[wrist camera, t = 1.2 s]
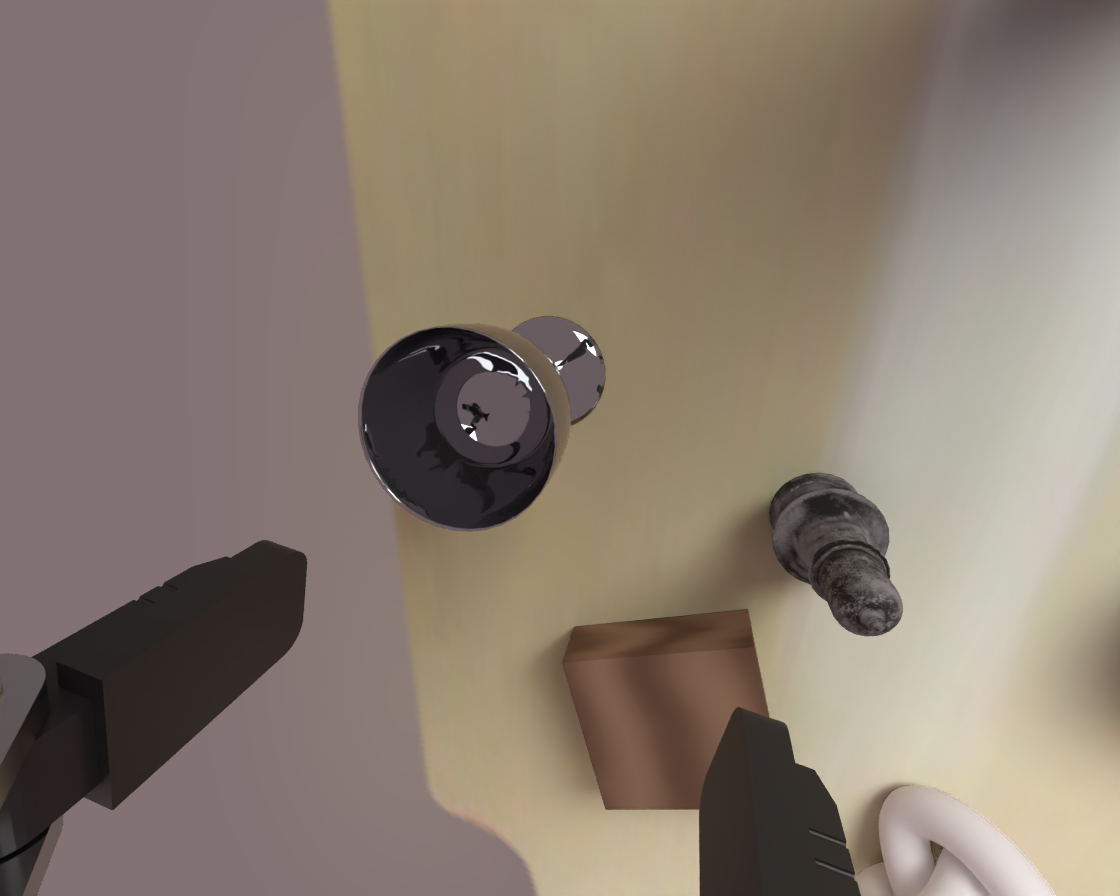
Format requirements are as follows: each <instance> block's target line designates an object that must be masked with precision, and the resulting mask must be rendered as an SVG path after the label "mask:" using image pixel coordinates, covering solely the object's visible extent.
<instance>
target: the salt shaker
mask: <svg viewBox="0 0 1120 896" xmlns="http://www.w3.org/2000/svg"><path fill="white" fill-rule="evenodd" d="M769 513H770V523H771V525H772V528H773V535H772V539H773V549H774V551H775V554H776V556H777V559H778V561H779V562H780V563H781V565H782V566H783V567H784V568H785V570H786V571H787V572H788V573H790V574H791V575H793V576H794V577H795V578H797V579H798V580H801V581H803V582H805V583H808V584H810V585H811V586H812V588H813V589H814V591H815V592H816V593H817V594H818V595H819V596H820V597H821V598H823V599H824V600H825V601H827V602H828V604H829V607H830V609H831V611H832V614H833V616H834V618H835V619H836V620H837V621H838V622H839V624H840V625H841V626H842V627H844V628H845V629H846V630H848V631H850V632H852V633H854V634H857V635H862V636H878V635H882V634H884V633H887V632H889V631H890V630H891V629H893V628H894V627H895V626H896V625H897V624H898V622H899V621H900V619H901V616H902V613H903V606H902V600H901V598H900V595H899V593H898V591H897V590H896V588H895V587H894V585H893V584H892V582H891V581H890V580H889V579H890V568H889V565H888V563H887V560H886V558H885V555H886V552H887V548H888V545H889V528H888V526H887V523H886V520H885V517H884V516H883V514H882V513H881V512H880V510H879V509H878V508H877V507H876V505H875V504H873V503H872V502H871V501H869V500H868V499H867V498H865V497H864V496H862V495H859V494H858V493H857V491H856V490H855V489H854V488H853V486H852V485H850V484H849V483H847V482H846V481H845V480H843V479H841V478H839V477H836V476H834V475H831V474H824V473H812V474H805V475H802V476H799V477H796V478H794V479H792V480H791V481H789V482H788V483H786V484H784V485H783V487H782V488H781V489H780V490H779V491H778V492H777V493H776V495H775V497H774V499H773V501H772V503H771V508H770V512H769Z"/></svg>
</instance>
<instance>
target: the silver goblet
mask: <svg viewBox="0 0 1120 896" xmlns="http://www.w3.org/2000/svg"><path fill="white" fill-rule="evenodd" d="M604 384H605V365H604V360H603V357H602V354H601V351H600V349H599V347H598V346H597V344H596V342H595V340H594V339H593V338H592V337H591V336H590V335H589V333H588V332H587V331H585V330H584V329H583V328H582V327H580V326H579V325H577V324H575V323H574V322H572V321H570V320H567V319H564V318H560V317H554V316H542V317H537V318H533V319H530V320H528V321H526V322H523V323H522V324H520V325H519V326H517V327H516V328H515V329H514V330H513V331H510V330H507V329H504V328H500V327H496V326H491V325H485V324H479V323H476V324H448V325H443V326H437V327H433V328H428V329H424V330H420V331H417V332H414V333H412V334H410V335H408V336H406V337H403V338H401V339H400V340H398V341H397V342H395V343H394V344H393V345H391V346H390V347H389V348H387V349H386V350H385V351H384V353H383V354H382V355H381V356H380V357H379V358H378V359H377V360H376V362H375V363H374V365H373V366H372V368H371V370H370V371H369V373H368V375H367V377H366V380H365V382H364V385H363V388H362V391H361V396H360V401H359V406H358V428H359V434H360V441H361V444H362V448H363V451H364V454H365V457H366V460H367V462H368V464H369V466H370V468H371V470H372V472H373V474H374V475H375V477H376V478H377V480H378V481H379V483H380V484H381V486H382V487H383V489H384V490H385V491H386V492H387V493H388V494H389V495H390V496H391V497H392V499H393V500H394V501H395V502H397V503H398V504H399V505H400V506H402V507H403V508H404V509H405V510H406V511H408V512H409V513H411V514H413V515H414V516H416V517H418V518H419V519H421V520H423V521H425V522H428V523H430V524H432V525H435V526H437V527H441V528H446V529H450V530H455V531H479V530H487V529H490V528H494V527H497V526H500V525H503V524H505V523H507V522H508V521H510V520H512V519H514V518H516V517H517V516H518V515H520V514H521V513H522V512H523V511H525V510H526V509H527V508H528V507H529V506H530V505H531V504H532V503H533V502H534V501H535V500H536V498H537V497H538V496H539V495H540V494H541V493H542V491H543V490H544V489H545V487H546V486H547V485H548V483H549V481H550V479H551V478H552V476H553V474H554V472H555V471H556V469H557V467H558V465H559V463H560V462H561V460H562V457H563V454H564V451H565V448H566V445H567V442H568V437H569V432H570V426H571V425H574V424H576V423H577V422H579V421H581V420H583V419H584V418H585V417H586V416H587V415H589V414H590V413H591V411H592V410H593V409H594V408H595V407H596V405H597V403H598V401H599V400H600V398H601V395H602V392H603V389H604Z"/></svg>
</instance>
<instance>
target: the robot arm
mask: <svg viewBox="0 0 1120 896" xmlns="http://www.w3.org/2000/svg"><path fill="white" fill-rule="evenodd" d="M306 570H307V559H306V556H305V555H304V554H303V553H301V552H299V551H296V550H294V549H290V548H288V547H285V546H282V545H279V544H276V543H274V542H271V541H267V540H262V541H259V542H257V543H255V544H254V545H252V546H250V547H248V548H247V549H245V550H243V551H242V552H240V553H239V554H236V555H235V556H233V557H232V558H229V557H223V558H220V559H217V560H213V561H210V562H206V563H203V564H200V565H196V566H194V567H191V568H189V569H187V570H186V571H184V572H182V573H180V574H179V575H177V576H175V577H173V578H172V579H170V580H168V581H166V582H165V583H164V584H163V586H162V587H159V586H157V587H156V588H154V589H152V590H150V591H148V592H147V593H145V594H143V595H141V596H140V598H139V599H138V600H137V601H135V600H133V601H131V602H129V603H127V604H125V605H124V606H122V607H120V608H118V609H117V610H115V611H113V612H111V613H110V614H108V615H106V616H104V617H102V618H101V619H99V620H97V621H95V622H93V623H92V624H90V625H88V626H86V627H85V628H83V629H81V630H79V631H78V632H76V633H74V634H72V635H70V636H69V637H67V638H65V639H63V640H62V641H60V642H58V643H56V644H55V645H53V646H51V647H49V648H47V649H46V650H44V651H42V652H40V653H39V654H37V655H35V656H33V657H28V656H25V655H19V654H0V896H37V894H38V892H39V889H40V886H41V884H42V881H43V878H44V876H45V873H46V870H47V868H48V865H49V863H50V860H51V857H52V855H53V852H54V849H55V847H56V844H57V841H58V839H59V836H60V834H61V831H62V827H63V814H64V813H65V812H66V811H68V810H69V809H70V808H71V807H72V806H73V805H75V804H76V803H77V802H78V801H79V800H81V799H82V798H83V797H85V798H87V799H89V800H91V801H93V802H95V803H98V804H100V805H102V806H104V807H106V808H109V809H111V810H114V809H115V808H116V807H117V806H118V805H119V804H120V803H121V802H122V801H123V800H125V799H126V798H127V797H128V796H129V795H130V794H131V793H132V792H134V791H135V790H136V789H137V788H138V787H139V786H140V785H141V784H142V783H143V782H145V781H146V780H147V779H148V778H149V777H150V776H151V775H152V774H153V773H154V772H155V771H157V770H158V769H159V768H160V767H161V766H162V765H163V764H165V762H167V761H168V760H169V759H170V758H171V757H172V756H173V755H174V754H176V753H177V752H178V751H179V750H180V749H181V748H182V747H183V746H184V745H185V744H186V743H188V742H189V741H190V740H191V739H192V738H193V737H194V736H195V735H196V734H198V733H199V732H200V731H201V730H202V729H203V728H204V727H205V726H207V725H208V724H209V723H210V722H211V721H212V720H213V719H214V718H215V717H216V716H217V715H219V714H220V713H221V712H222V711H223V710H224V709H225V708H226V707H227V706H228V705H230V704H231V703H232V702H233V701H234V700H235V699H236V698H237V697H238V696H240V695H241V694H242V693H243V692H244V691H245V690H246V689H247V688H248V687H250V686H251V685H252V684H253V683H254V682H255V681H256V680H257V679H258V678H259V677H261V676H262V675H263V674H264V673H265V672H266V671H267V670H268V669H269V668H270V667H272V666H273V665H274V664H275V663H276V662H277V661H278V660H279V659H280V658H282V657H283V656H284V655H285V654H286V653H287V652H288V650H289V649H290V648H291V647H292V645H293V644H294V642H295V640H296V638H297V636H298V635H299V632H300V629H301V627H302V622H303V612H304V598H305V586H306ZM699 854H700V896H861V894H860V890H859V887H858V883H857V881H855V880H854V874H855V872H854V868H853V864H852V861H851V857H850V853H849V850H848V849H847V848H846V838H845V835H844V831H843V827H842V824H841V820H840V816H839V813H838V809H837V805H836V804H835V802H834V800H833V799H832V797H831V796H830V794H829V792H828V791H827V789H826V788H825V786H824V784H823V783H822V781H821V780H820V778H819V776H818V775H817V773H816V772H815V770H813V769H810V768H808V767H805V766H802V765H799V764H796V763H795V760H794V755H793V750H792V745H791V741H790V736H789V731H788V728H787V726H786V724H785V723H783V722H780V721H778V720H775V719H772V718H769V717H766V716H763V715H760V714H758V713H755V712H752V711H749V710H746V709H743V708H740V707H737V708H736V709H735V710H734V711H733V713H732V715H731V717H730V719H729V722H728V724H727V727H726V729H725V731H724V734H723V736H722V738H721V741H720V743H719V745H718V748H717V750H716V753H715V755H714V757H713V760H712V762H711V764H710V767H709V769H708V772H707V774H706V777H705V781H704V784H703V789H702V794H701V800H700V810H699Z"/></svg>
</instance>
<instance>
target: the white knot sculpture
mask: <svg viewBox="0 0 1120 896" xmlns="http://www.w3.org/2000/svg"><path fill="white" fill-rule="evenodd" d="M879 838H880V844H881V850H882V856H883V860H884V862H882V863H878V864H875V865H872V866H870V867H868V868H866V869H865V870H863V871H861V872H860V873H859V874H858V875H857V876H856V878H855V881H857V883H858V887H859V890H860V894H861V896H1056V894H1055V892H1054V891H1053V889H1052V888H1051V886H1050V885H1049V884H1048V882H1047V881H1046V880H1045V879H1044V877H1043V876H1042V875H1041V873H1040V872H1039V871H1038V869H1037V868H1036V867H1035V866H1034V864H1033V863H1032V862H1031V861H1030V860H1029V859H1028V858H1027V857H1026V856H1025V854H1024V853H1023V852H1022V851H1021V850H1020V849H1019V848H1018V847H1017V846H1016V845H1015V843H1014V842H1013V841H1011V840H1010V839H1009V838H1008V837H1007V836H1006V835H1005V834H1004V833H1003V832H1002V831H1001V830H1000V829H998V828H997V827H996V826H995V825H994V824H993V823H992V822H991V821H989V820H988V819H987V818H985V817H984V816H983V815H981V814H980V813H979V812H978V811H976V810H975V809H974V808H972V807H971V806H969V805H967V804H966V803H964V802H963V801H961V800H959V799H958V798H956V797H954V796H952V795H950V794H948V793H945V792H943V791H941V790H939V789H936V788H931V787H927V786H902V787H900V788H898V789H896V790H894V791H892V792H891V793H890V795H889V796H888V797H887V798H886V800H885V801H884V803H883V806H882V808H881V811H880V815H879ZM930 840H931V841H933V842H935V843H937V844H939V845H941V846H943V847H944V848H943V850H942V852H941V854H940V856H939V858H938V861H937V863H936V865H935V861H934V858H933V855H932V851H931V846H930Z"/></svg>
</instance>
